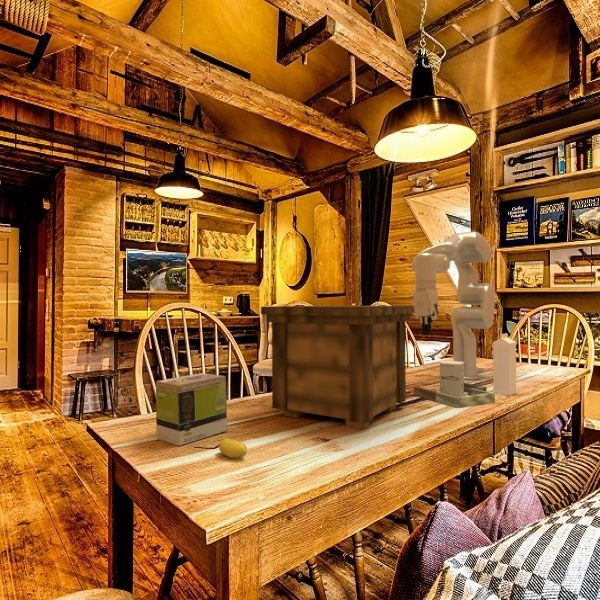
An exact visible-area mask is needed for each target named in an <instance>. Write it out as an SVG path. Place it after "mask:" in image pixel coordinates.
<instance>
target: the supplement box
mask: <svg viewBox="0 0 600 600" xmlns="http://www.w3.org/2000/svg"><path fill="white" fill-rule="evenodd" d="M464 383H465V380H464V362H458V361H454V360H441V362H440V363H439V393H443V394H447V395H451V396H455V397H462V396H464V394H465V393H464V392H465V391H464Z"/></svg>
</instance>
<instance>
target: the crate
mask: <svg viewBox="0 0 600 600" xmlns="http://www.w3.org/2000/svg"><path fill="white" fill-rule="evenodd" d="M413 313H415V306H412V305H288V306H287V305H285V306H284V305H282V306H281V305H277V306H272V305H271V306H270V305H269V306H260V314H261V315H266V323H271V352H272V353H271V355H272V356H271V363H272V364H271V371H272V372H271V375H272V376H271V384H272V385H271V386H272V387H271V390H272V391H271V393H272V394H271V395H272V397H271V398H272V399H271V400H272V405H271V407H272V409H276V410H282V412H283V413H282V415H283V416H286V417H292V418H298V417H301V416H303V415H305V413H307V414H313V415H319V416H326V417H331V418H337V419H343V420H345V427H347V428H354V429H361V430H362V429H364V428H366V427H367V426H369V423H370V422H371V421H373V420H374V417H375V416H377V415H378V414H380V413H382V412H389V413H391V412H393V411H395V410H396V409H397V404H403V403H405V402H406V401H407V400H406V399H407V398H406V397H407V395H406V393H407V392H406V389H407V387H406V381H407V380H406V379H407V378H406V373H407V372H406V370H407V369H406V322H409V321H411V314H413Z"/></svg>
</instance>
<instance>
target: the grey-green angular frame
mask: <svg viewBox="0 0 600 600" xmlns="http://www.w3.org/2000/svg"><path fill="white" fill-rule="evenodd" d="M487 390H488V389H487V386H482V385H477V384H473V383H468V382H464V392H465V393H467V395H465V396H462V397H455V396H451V395H447V394H443V393H440V391H436V390H435V391H434V390H431V389H428V388H424V387H421V386H414V387H413V395H414V396H415V395H417V396H416V397H418V396H421V397H423V398H422V399H425V400H429V401H433V402H436V403H439V404H442V405H446V406H449V407H453V408H456V409H460V408H467V407H473V406H480V405H487V404H493V403H496V393H493V392H490V391H487ZM421 397H420V398H421Z"/></svg>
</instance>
